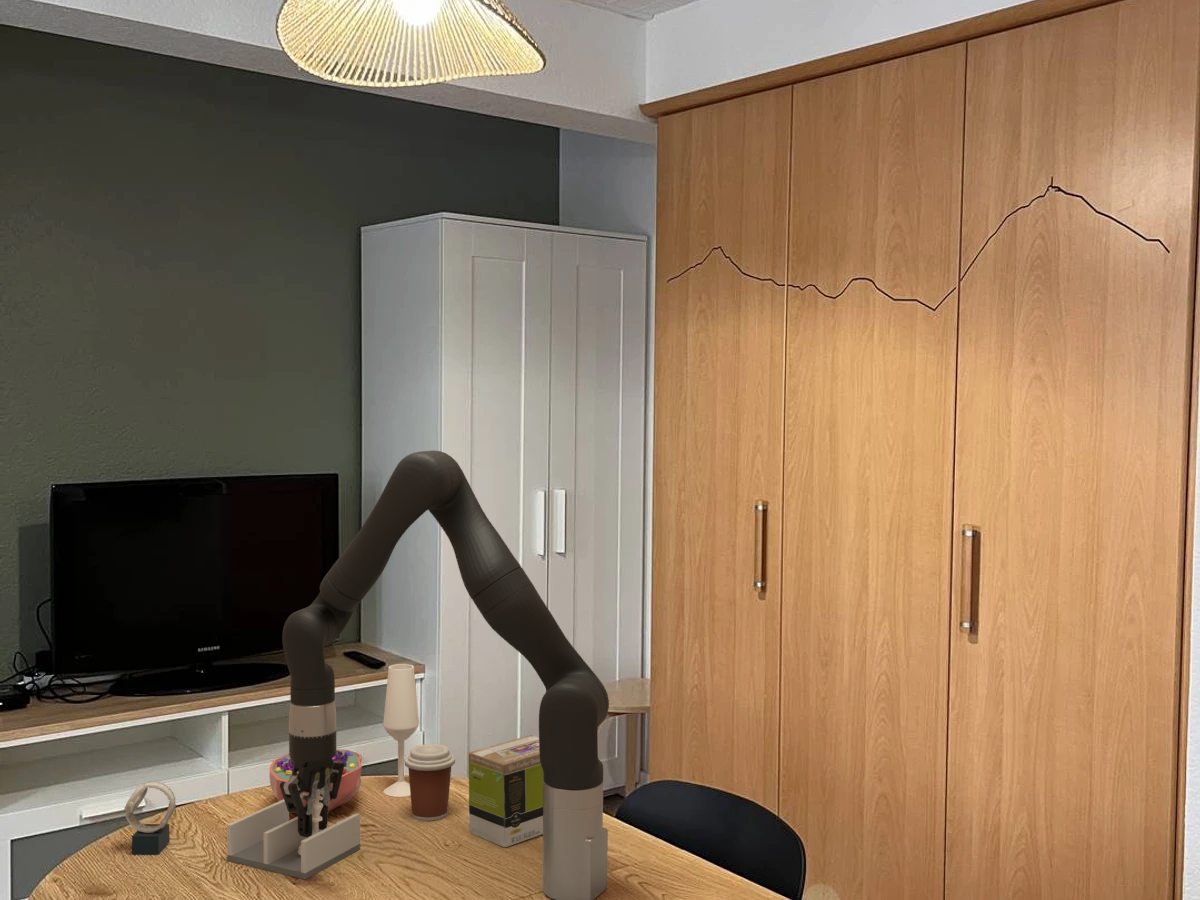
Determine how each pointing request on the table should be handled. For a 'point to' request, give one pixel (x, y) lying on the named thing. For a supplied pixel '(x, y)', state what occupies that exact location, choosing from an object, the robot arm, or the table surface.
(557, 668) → the robot arm
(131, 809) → the watch
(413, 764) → the coffee cup
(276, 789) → the cell model
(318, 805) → the chess piece
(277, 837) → the slot rack
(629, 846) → the table surface
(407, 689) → the champagne flute
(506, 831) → the tea box
